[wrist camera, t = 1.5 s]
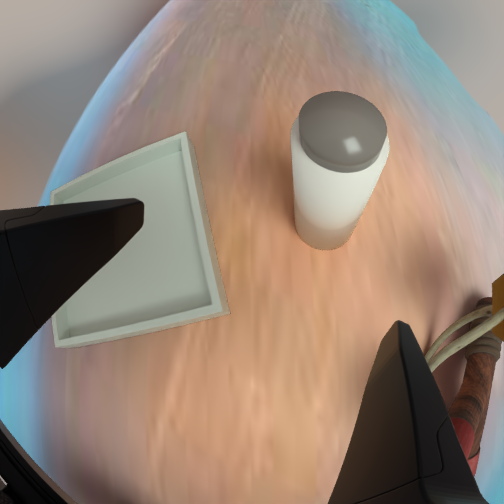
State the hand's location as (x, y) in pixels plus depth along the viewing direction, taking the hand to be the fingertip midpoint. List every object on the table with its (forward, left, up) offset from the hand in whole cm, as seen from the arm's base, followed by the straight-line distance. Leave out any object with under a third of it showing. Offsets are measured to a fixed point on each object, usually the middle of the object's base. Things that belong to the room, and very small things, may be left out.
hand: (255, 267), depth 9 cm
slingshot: (-10, -10, -14) cm, 20 cm away
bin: (+9, +12, -14) cm, 20 cm away
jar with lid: (+6, -5, -14) cm, 16 cm away
